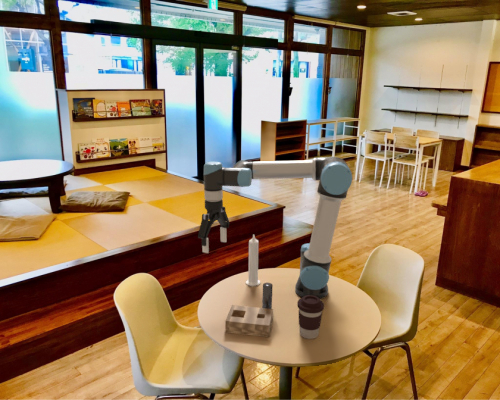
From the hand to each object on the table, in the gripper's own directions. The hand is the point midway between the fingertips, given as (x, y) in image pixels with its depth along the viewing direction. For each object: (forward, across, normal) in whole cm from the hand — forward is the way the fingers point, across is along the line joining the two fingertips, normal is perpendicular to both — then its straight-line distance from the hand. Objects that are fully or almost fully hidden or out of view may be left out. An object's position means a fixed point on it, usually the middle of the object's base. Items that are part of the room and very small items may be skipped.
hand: (214, 246), depth 180 cm
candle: (+26, -22, +6) cm, 34 cm away
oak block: (+25, +10, +23) cm, 36 cm away
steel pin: (+25, -2, +24) cm, 35 cm away
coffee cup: (+26, +3, +46) cm, 53 cm away
